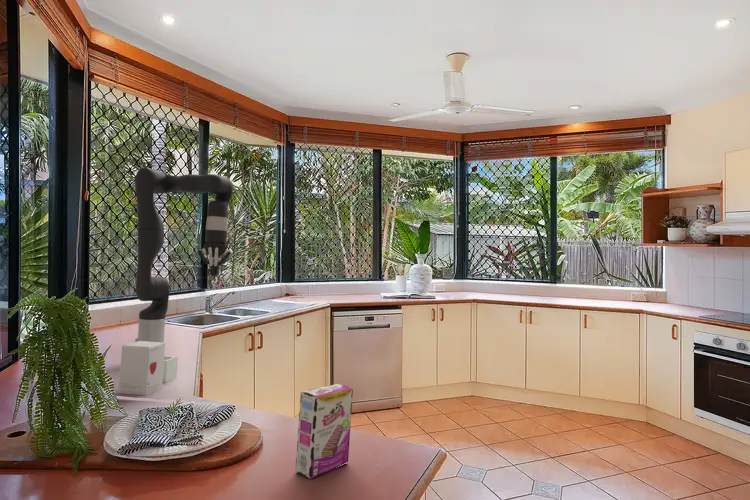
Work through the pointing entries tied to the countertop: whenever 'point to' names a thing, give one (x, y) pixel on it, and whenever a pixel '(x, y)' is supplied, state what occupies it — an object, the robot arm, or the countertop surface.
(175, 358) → the stoneware open box
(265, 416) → the countertop surface
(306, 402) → the candy bar box
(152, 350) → the supplement box
